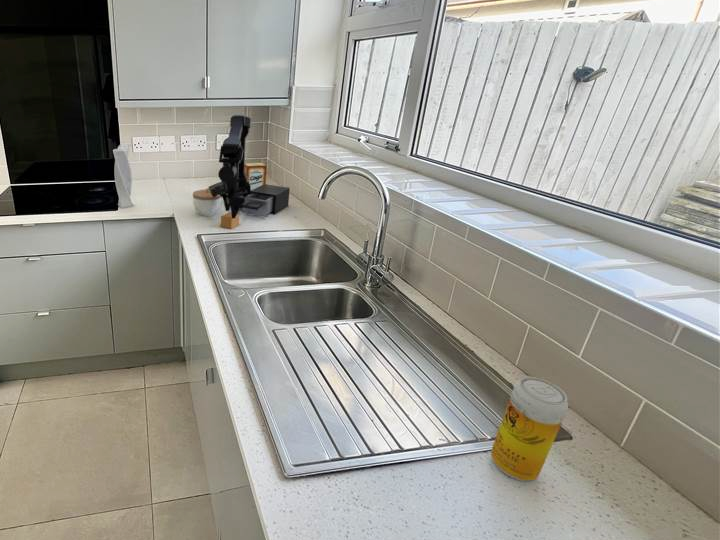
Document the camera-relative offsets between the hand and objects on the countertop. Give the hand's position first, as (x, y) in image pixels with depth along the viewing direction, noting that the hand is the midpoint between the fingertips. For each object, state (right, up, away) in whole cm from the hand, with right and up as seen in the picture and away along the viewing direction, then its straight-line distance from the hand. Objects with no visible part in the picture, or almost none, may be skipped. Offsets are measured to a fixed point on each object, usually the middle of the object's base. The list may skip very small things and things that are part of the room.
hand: (230, 214), depth 160 cm
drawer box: (+19, +5, +23) cm, 30 cm away
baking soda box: (+14, +12, +42) cm, 46 cm away
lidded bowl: (-9, +1, +16) cm, 19 cm away
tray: (+13, +2, +15) cm, 20 cm away
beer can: (+38, -45, -98) cm, 114 cm away
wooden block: (0, -4, +2) cm, 5 cm away
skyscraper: (-47, +6, +27) cm, 54 cm away
